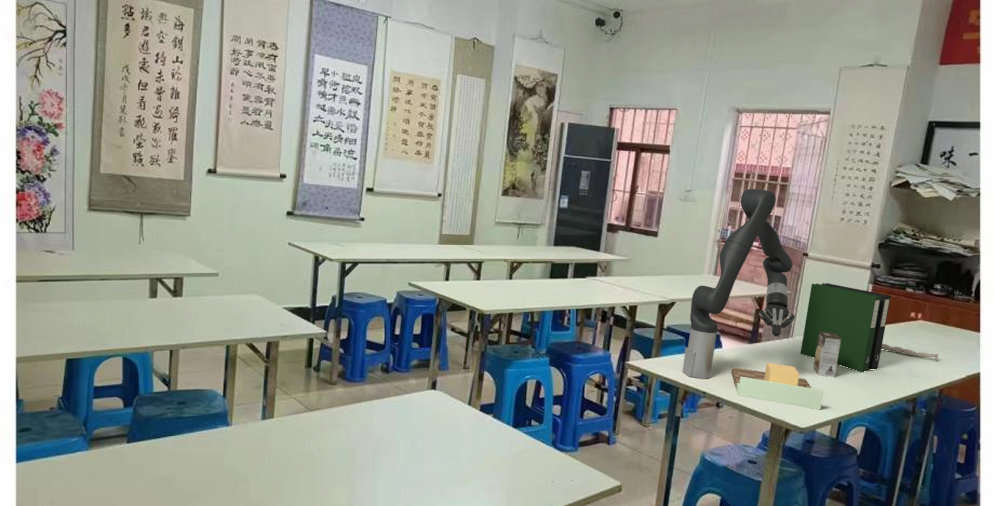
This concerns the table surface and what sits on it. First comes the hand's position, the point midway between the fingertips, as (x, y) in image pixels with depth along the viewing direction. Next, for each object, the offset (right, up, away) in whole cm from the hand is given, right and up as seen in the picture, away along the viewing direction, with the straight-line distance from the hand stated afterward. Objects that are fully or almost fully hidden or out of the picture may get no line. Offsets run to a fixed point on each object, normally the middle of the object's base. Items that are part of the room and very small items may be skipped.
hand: (776, 335), depth 243 cm
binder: (+46, -17, +45) cm, 67 cm away
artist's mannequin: (+90, -19, +73) cm, 118 cm away
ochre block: (-6, -17, -16) cm, 24 cm away
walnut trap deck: (-4, -19, -7) cm, 21 cm away
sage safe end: (-7, -20, -17) cm, 27 cm away
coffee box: (+29, -18, +23) cm, 41 cm away
